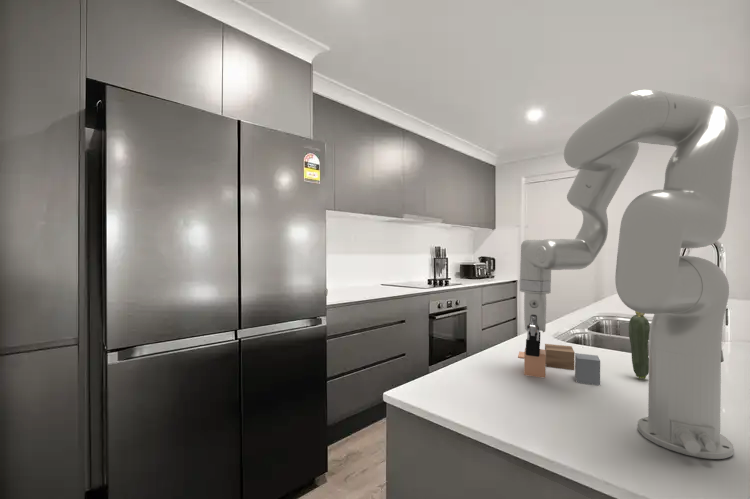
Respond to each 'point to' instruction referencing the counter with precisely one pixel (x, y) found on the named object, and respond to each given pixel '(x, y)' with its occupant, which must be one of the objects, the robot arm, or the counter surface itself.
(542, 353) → the terracotta cube
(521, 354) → the tile
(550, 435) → the counter surface
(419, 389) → the counter surface
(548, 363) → the base block
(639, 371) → the vegetable
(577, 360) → the slate cube
